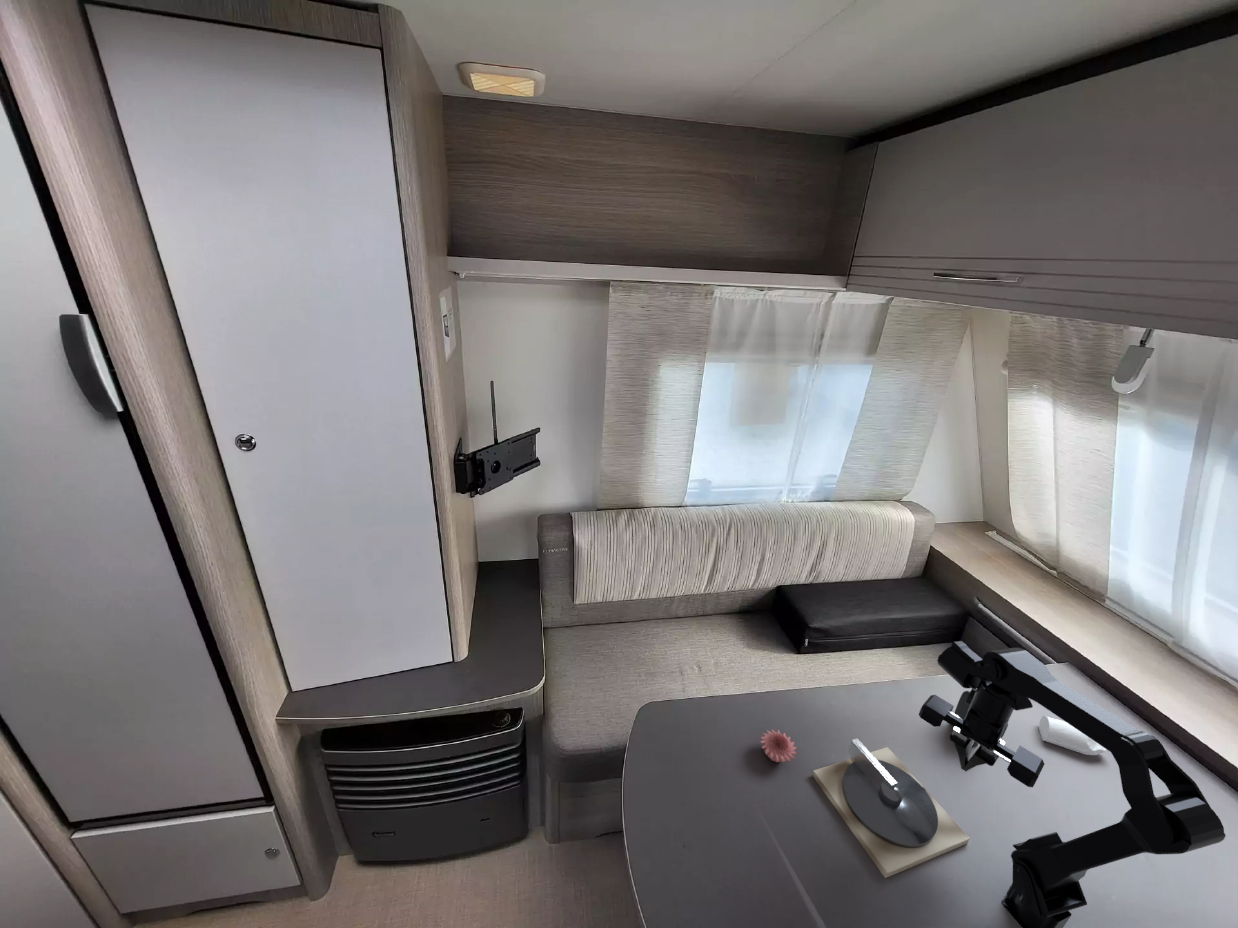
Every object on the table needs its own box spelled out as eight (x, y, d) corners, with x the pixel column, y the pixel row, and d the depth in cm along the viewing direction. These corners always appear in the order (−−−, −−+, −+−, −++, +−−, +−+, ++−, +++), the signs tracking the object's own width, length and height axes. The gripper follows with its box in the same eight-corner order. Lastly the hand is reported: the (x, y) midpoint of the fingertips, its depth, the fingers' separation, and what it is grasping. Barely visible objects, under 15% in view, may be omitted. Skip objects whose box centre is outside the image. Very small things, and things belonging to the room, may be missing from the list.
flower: (786, 739, 115) (790, 722, 113) (800, 773, 108) (805, 754, 105) (752, 740, 114) (756, 722, 112) (763, 774, 107) (768, 755, 105)
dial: (956, 829, 97) (965, 811, 95) (890, 861, 91) (898, 842, 89) (878, 745, 113) (884, 728, 111) (817, 767, 107) (822, 749, 105)
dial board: (967, 843, 96) (970, 837, 96) (885, 877, 90) (887, 872, 89) (885, 751, 114) (887, 746, 113) (812, 775, 107) (813, 769, 107)
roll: (1108, 769, 113) (1119, 751, 111) (1042, 745, 118) (1051, 728, 115) (1098, 747, 118) (1109, 730, 116) (1036, 726, 123) (1044, 709, 120)
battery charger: (983, 749, 116) (1000, 712, 111) (966, 748, 116) (983, 711, 111) (963, 723, 122) (979, 687, 118) (948, 722, 122) (963, 686, 118)
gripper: (1066, 720, 90) (1034, 781, 96) (951, 658, 103) (929, 715, 109) (1049, 754, 83) (1017, 817, 89) (929, 683, 96) (907, 742, 102)
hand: (964, 768), depth 98 cm, fingers closed
